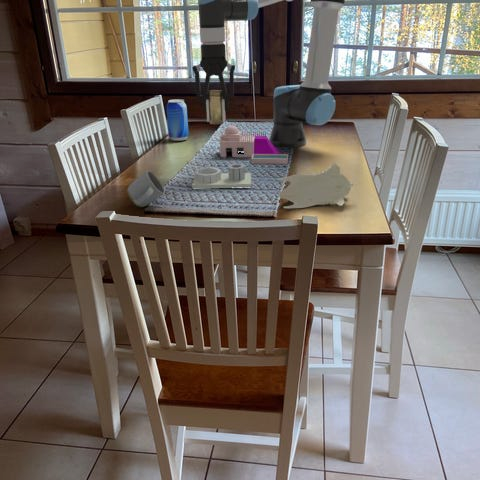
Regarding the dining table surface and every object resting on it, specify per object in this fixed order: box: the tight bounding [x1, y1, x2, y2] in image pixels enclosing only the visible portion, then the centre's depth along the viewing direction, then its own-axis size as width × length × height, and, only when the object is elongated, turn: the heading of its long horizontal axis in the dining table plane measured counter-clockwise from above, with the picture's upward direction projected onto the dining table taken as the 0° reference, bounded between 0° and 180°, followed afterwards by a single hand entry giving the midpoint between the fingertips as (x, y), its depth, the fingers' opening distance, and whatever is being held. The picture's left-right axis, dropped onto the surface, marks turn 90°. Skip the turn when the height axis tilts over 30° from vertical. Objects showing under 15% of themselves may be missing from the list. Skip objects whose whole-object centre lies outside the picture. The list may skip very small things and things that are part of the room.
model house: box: [219, 125, 289, 165], centre depth 170 cm, size 25×17×11 cm
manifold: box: [191, 163, 252, 189], centre depth 145 cm, size 18×11×6 cm, turn 89°
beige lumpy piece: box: [277, 162, 357, 209], centre depth 129 cm, size 22×12×12 cm, turn 94°
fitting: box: [207, 89, 224, 125], centre depth 149 cm, size 4×4×10 cm
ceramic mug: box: [126, 170, 166, 208], centre depth 127 cm, size 11×8×8 cm
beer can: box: [166, 98, 190, 142], centre depth 196 cm, size 8×8×16 cm
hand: (216, 120), depth 151 cm, fingers closed on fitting, 4 cm apart
